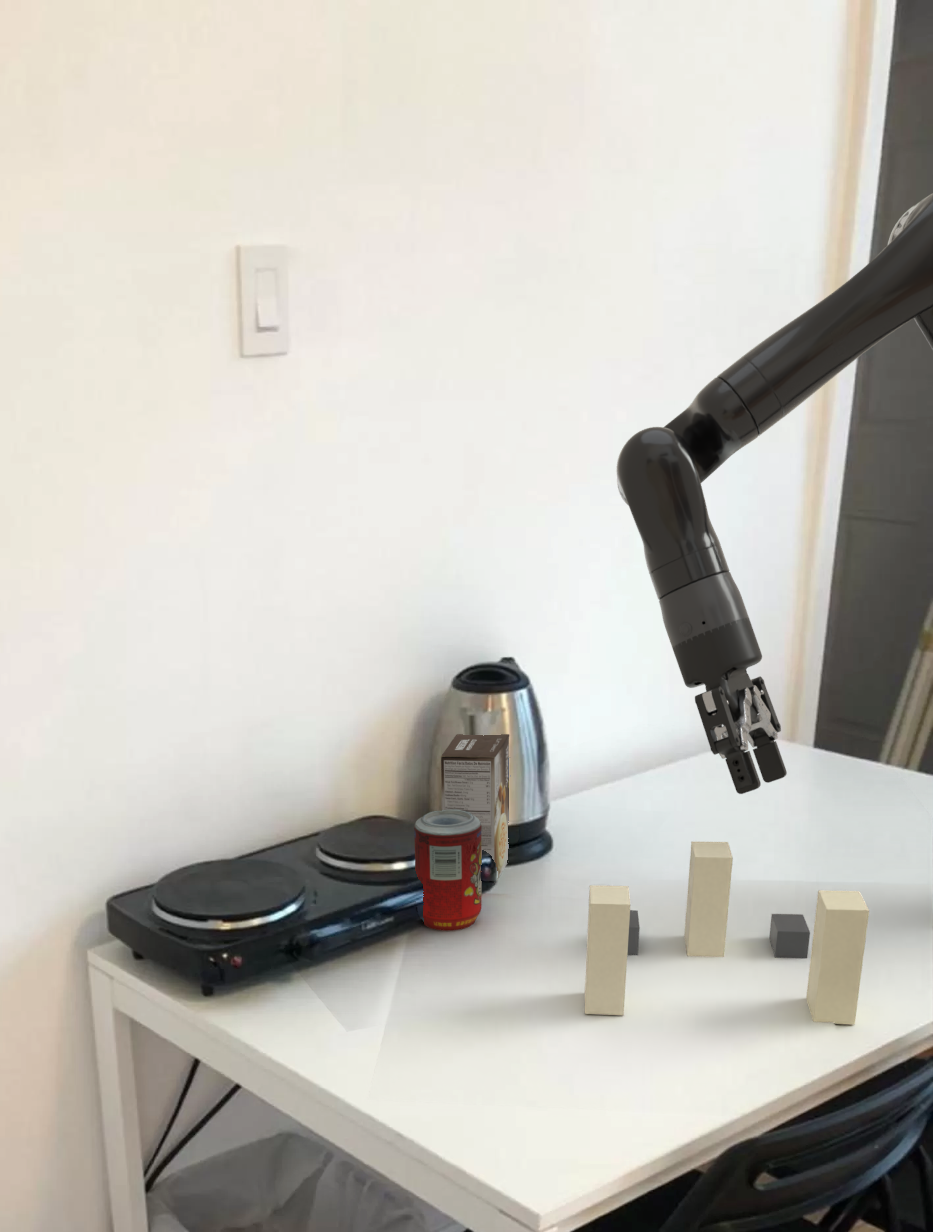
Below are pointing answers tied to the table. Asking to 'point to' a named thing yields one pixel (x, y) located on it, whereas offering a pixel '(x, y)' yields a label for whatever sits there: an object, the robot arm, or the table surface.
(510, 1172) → the table surface
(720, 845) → the tall beige block
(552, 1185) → the table surface
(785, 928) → the charcoal foam cube
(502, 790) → the coffee box
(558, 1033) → the table surface
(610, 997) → the cream rectangular block
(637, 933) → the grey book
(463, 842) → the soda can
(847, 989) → the beige tall block
